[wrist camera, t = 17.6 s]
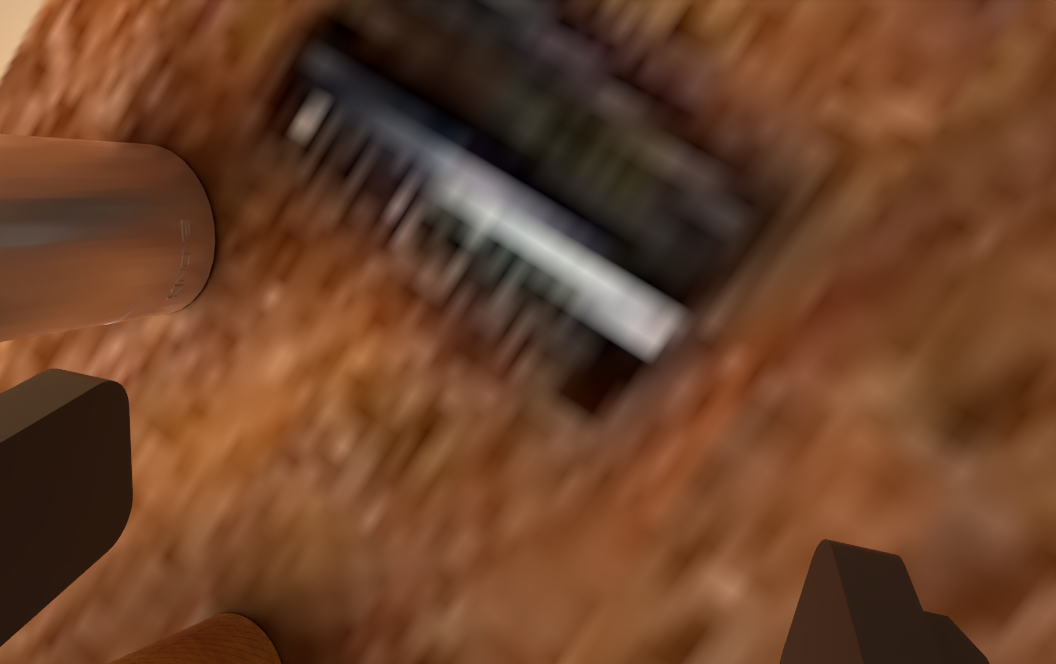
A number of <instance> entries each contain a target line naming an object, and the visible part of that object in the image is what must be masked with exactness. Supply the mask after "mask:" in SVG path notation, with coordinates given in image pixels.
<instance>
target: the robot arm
mask: <svg viewBox="0 0 1056 664" xmlns="http://www.w3.org/2000/svg"><path fill="white" fill-rule="evenodd" d="M214 250H215V228H214V220H213V216H212V211H211V206H210V203H209V201H208V198H207V196H206V193H205V191H204V188H203V186H202V185H201V183H200V181H199V180H198V178H197V176H196V175H195V173H194V172H193V171H192V170H191V168H190V167H189V166H188V165H187V164H186V163H185V162H184V161H183V160H182V159H181V158H180V157H178V156H177V155H176V154H174V153H173V152H171V151H170V150H167V149H165V148H163V147H160V146H158V145H151V144H141V143H125V142H110V141H94V140H82V139H66V138H50V137H34V136H18V135H2V134H0V342H2V341H8V340H14V339H20V338H26V337H32V336H38V335H44V334H50V333H56V332H62V331H68V330H74V329H80V328H86V327H92V326H98V325H105V324H111V323H117V322H123V321H129V320H135V319H141V318H147V317H153V316H159V315H165V314H169V313H172V312H175V311H178V310H181V309H182V308H184V307H185V306H187V305H188V304H190V303H191V302H192V301H193V300H194V299H195V298H196V296H197V295H198V294H199V293H200V292H201V290H202V288H203V286H204V285H205V283H206V281H207V279H208V277H209V274H210V270H211V267H212V263H213V259H214ZM132 500H133V488H132V464H131V440H130V416H129V401H128V396H127V393H126V391H125V389H124V388H123V386H122V385H121V384H119V383H118V382H115V381H111V380H107V379H102V378H98V377H93V376H88V375H84V374H79V373H75V372H70V371H66V370H61V369H49V370H46V371H44V372H41V373H40V374H38V375H36V376H34V377H32V378H30V379H28V380H26V381H24V382H22V383H20V384H19V385H17V386H15V387H13V388H11V389H9V390H7V391H5V392H3V393H1V394H0V647H1V646H2V645H3V644H4V643H5V642H6V641H7V640H9V639H10V638H11V637H12V636H13V635H14V634H15V633H16V632H18V631H19V630H20V629H21V628H22V627H23V626H24V625H25V624H27V623H28V622H29V621H30V620H31V619H32V618H33V617H34V616H36V615H37V614H38V613H39V612H40V611H41V610H42V609H43V608H45V607H46V606H47V605H48V604H49V603H50V602H51V601H52V600H54V599H55V598H56V597H57V596H58V595H59V594H60V593H61V592H63V591H64V590H65V589H66V588H67V587H68V586H69V585H70V584H72V583H73V582H74V581H75V580H76V579H77V578H78V577H79V576H81V575H82V574H83V573H84V572H85V571H86V570H87V569H88V568H90V567H91V566H92V565H93V564H94V563H95V562H96V561H97V560H99V559H100V558H101V557H102V556H103V555H104V554H105V553H106V552H108V551H109V550H110V549H111V548H112V547H113V545H114V544H115V543H116V542H117V540H118V539H119V537H120V536H121V534H122V532H123V530H124V528H125V526H126V524H127V521H128V518H129V515H130V512H131V507H132ZM780 664H989V662H988V660H987V658H986V657H985V656H984V655H983V653H982V652H981V651H980V650H979V649H978V648H977V647H976V646H975V645H974V644H973V643H972V642H971V641H970V640H969V639H968V637H967V636H966V635H965V634H964V633H963V632H962V631H961V630H960V629H959V628H958V627H957V626H956V625H955V624H954V623H953V621H952V620H951V619H950V618H949V617H948V616H943V615H939V614H934V613H930V612H926V611H923V610H922V607H921V605H920V602H919V600H918V597H917V595H916V592H915V590H914V587H913V585H912V582H911V580H910V577H909V575H908V572H907V570H906V567H905V565H904V563H903V561H902V559H901V558H900V557H899V556H898V555H895V554H890V553H886V552H881V551H877V550H872V549H868V548H863V547H858V546H854V545H849V544H845V543H840V542H836V541H831V540H827V539H826V540H823V541H821V542H820V544H819V545H818V547H817V548H816V551H815V553H814V555H813V558H812V561H811V564H810V567H809V571H808V574H807V577H806V580H805V583H804V586H803V589H802V593H801V596H800V599H799V602H798V605H797V608H796V611H795V615H794V618H793V621H792V624H791V627H790V630H789V633H788V637H787V640H786V643H785V646H784V649H783V653H782V656H781V660H780Z"/></svg>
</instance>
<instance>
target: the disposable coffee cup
mask: <svg viewBox="0 0 1056 664" xmlns="http://www.w3.org/2000/svg"><path fill="white" fill-rule="evenodd" d="M108 664H281V661H280V659H279V656H278V653H277V651H276V649H275V647H274V645H273V644H272V642H271V641H270V639H269V638H268V637H267V635H266V634H265V633H264V632H263V631H262V630H261V629H260V628H259V627H258V626H257V625H256V624H255V623H253V622H252V621H251V620H249V619H247V618H245V617H243V616H241V615H238V614H235V613H222V614H218V615H216V616H214V617H212V618H209V619H207V620H205V621H203V622H201V623H198V624H196V625H193V626H191V627H189V628H187V629H185V630H182V631H180V632H178V633H176V634H173V635H171V636H169V637H167V638H164V639H162V640H160V641H157V642H155V643H153V644H151V645H148V646H146V647H144V648H142V649H140V650H138V651H136V652H133V653H131V654H128V655H126V656H124V657H122V658H120V659H117V660H115V661H113V662H111V663H108Z"/></svg>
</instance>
